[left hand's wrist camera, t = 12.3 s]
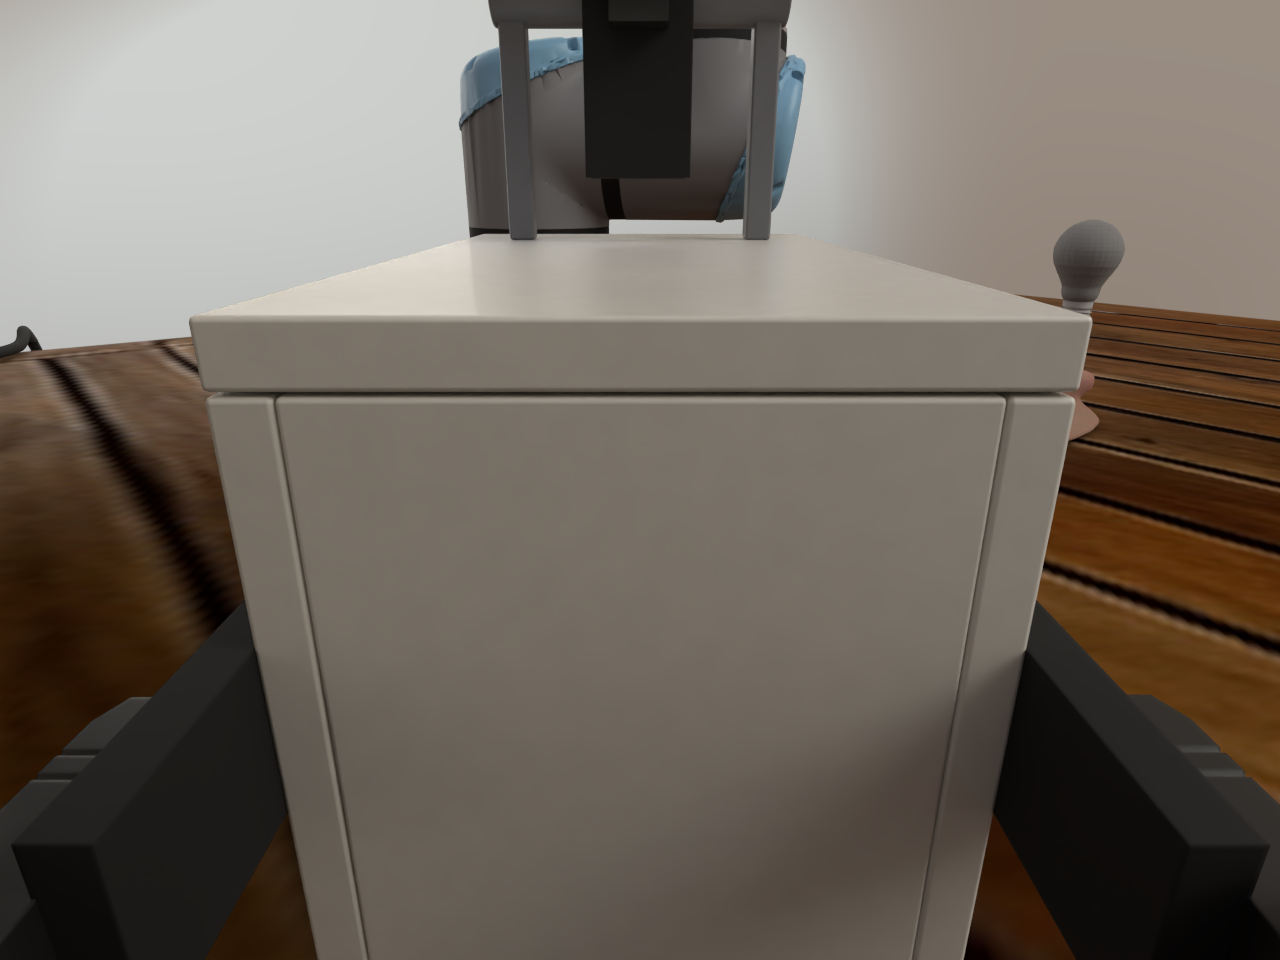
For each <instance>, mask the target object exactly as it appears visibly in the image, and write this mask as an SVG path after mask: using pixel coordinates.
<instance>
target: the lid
mask: <svg viewBox="0 0 1280 960" xmlns="http://www.w3.org/2000/svg"><path fill="white" fill-rule="evenodd" d="M791 1H792V0H694V23H693V29H752V32H751V55H750V78H749V100H748V123H747V146H746V169H745V191H744V214H743V234H537V221H536V199H535V176H534V153H533V131H532V108H531V85H530V63H529V40H528V29H582V0H488V3H489V10H490V15H491V19H492V22H493V24H494V26H495V28H498V32H499V50H500V68H501V86H502V104H503V122H504V140H505V158H506V176H507V194H508V212H509V230H510V234H482V235H478V236H475V237H471V238H468V239H464V240H461V241H457V242H454V243H450V244H446V245H443V246H439V247H436V248H432V249H429V250H425V251H422V252H418V253H415V254H411V255H407V256H404V257H400V258H397V259H393V260H390V261H386V262H383V263H379V264H376V265H372V266H368V267H365V268H361V269H358V270H354V271H351V272H347V273H343V274H340V275H336V276H333V277H329V278H326V279H322V280H319V281H315V282H312V283H308V284H304V285H301V286H297V287H294V288H290V289H287V290H283V291H280V292H276V293H272V294H269V295H265V296H262V297H258V298H255V299H251V300H248V301H244V302H241V303H237V304H233V305H230V306H226V307H223V308H219V309H216V310H212V311H209V312H205V313H202V314H198V315H195V316H193V317H191V318H190V320H189V325H190V330H191V335H192V340H193V345H194V350H195V355H196V360H197V365H198V370H199V375H200V380H201V385H202V388H203V389H204V390H205V391H208V392H1072V391H1076V390H1078V388H1079V386H1080V382H1081V377H1082V372H1083V367H1084V362H1085V357H1086V352H1087V347H1088V342H1089V337H1090V332H1091V327H1092V318H1091V317H1089V316H1087V315H1084V314H1081V313H1077V312H1073V311H1070V310H1066V309H1063V308H1059V307H1056V306H1052V305H1048V304H1045V303H1041V302H1038V301H1034V300H1030V299H1027V298H1023V297H1020V296H1016V295H1013V294H1009V293H1005V292H1002V291H998V290H995V289H991V288H987V287H984V286H980V285H976V284H973V283H969V282H966V281H962V280H959V279H955V278H952V277H948V276H945V275H941V274H937V273H934V272H930V271H926V270H923V269H919V268H916V267H912V266H909V265H905V264H901V263H898V262H894V261H891V260H887V259H884V258H880V257H876V256H873V255H869V254H866V253H862V252H859V251H855V250H851V249H848V248H844V247H841V246H837V245H833V244H830V243H826V242H823V241H819V240H815V239H812V238H808V237H805V236H801V235H798V234H770V225H771V208H772V190H773V172H774V154H775V136H776V118H777V100H778V82H779V64H780V46H781V29H782V28H784V27H785V26H786V24H787V21H788V18H789V13H790V8H791Z"/></svg>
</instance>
